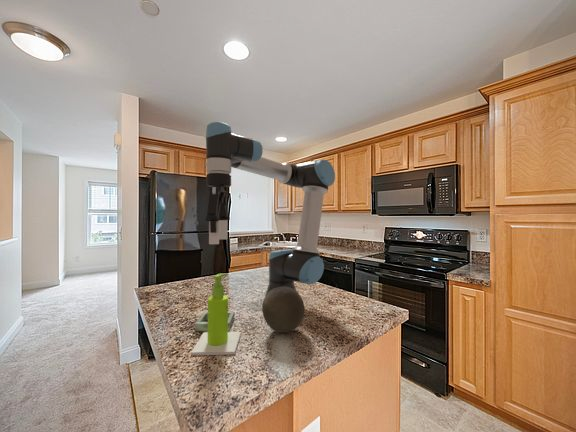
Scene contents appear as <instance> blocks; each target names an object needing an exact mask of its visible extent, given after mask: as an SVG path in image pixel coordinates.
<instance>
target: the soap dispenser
mask: <svg viewBox="0 0 576 432" xmlns="http://www.w3.org/2000/svg"><path fill="white" fill-rule="evenodd" d="M228 275H229V274H228V273H221V272H220V273H217V274H214V275H213V276H212V279H214V281H215V283H214V285H212V290H211V291H212V292H211V296H209V297H208V298H207V312H208V320H207V322H208V331H207V332H208V344H209V345H212V346H218V345H222V344H225V343H226V342H227V341H228V332H229V331H228V312H229V297H228V296H227V295H224V294H225V293H224V292H225V285H223V284H222V278H223V277H226V276H228Z"/></svg>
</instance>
